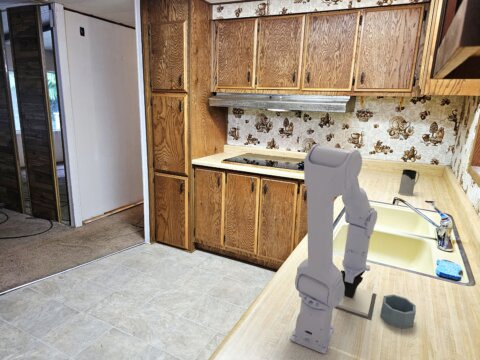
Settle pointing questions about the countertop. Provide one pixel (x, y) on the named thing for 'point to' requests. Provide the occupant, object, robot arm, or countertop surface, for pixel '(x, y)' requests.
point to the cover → (357, 302)
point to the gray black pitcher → (408, 182)
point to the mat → (360, 314)
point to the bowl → (398, 311)
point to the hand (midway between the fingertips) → (349, 293)
